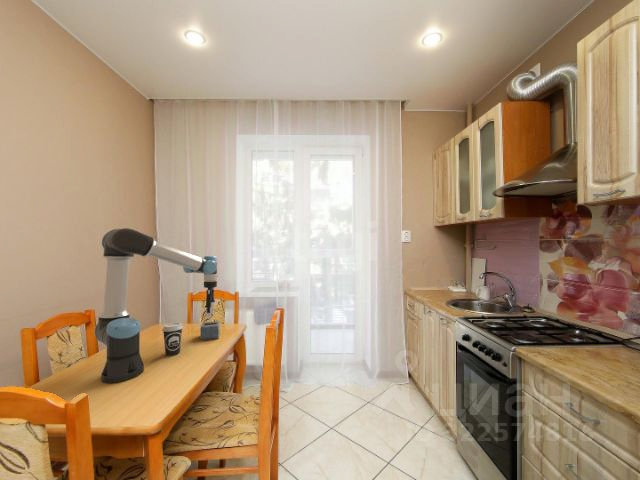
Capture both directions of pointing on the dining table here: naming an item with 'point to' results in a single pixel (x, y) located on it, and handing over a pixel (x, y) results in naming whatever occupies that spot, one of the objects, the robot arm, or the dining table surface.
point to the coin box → (210, 330)
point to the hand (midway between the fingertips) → (210, 315)
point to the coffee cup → (172, 338)
